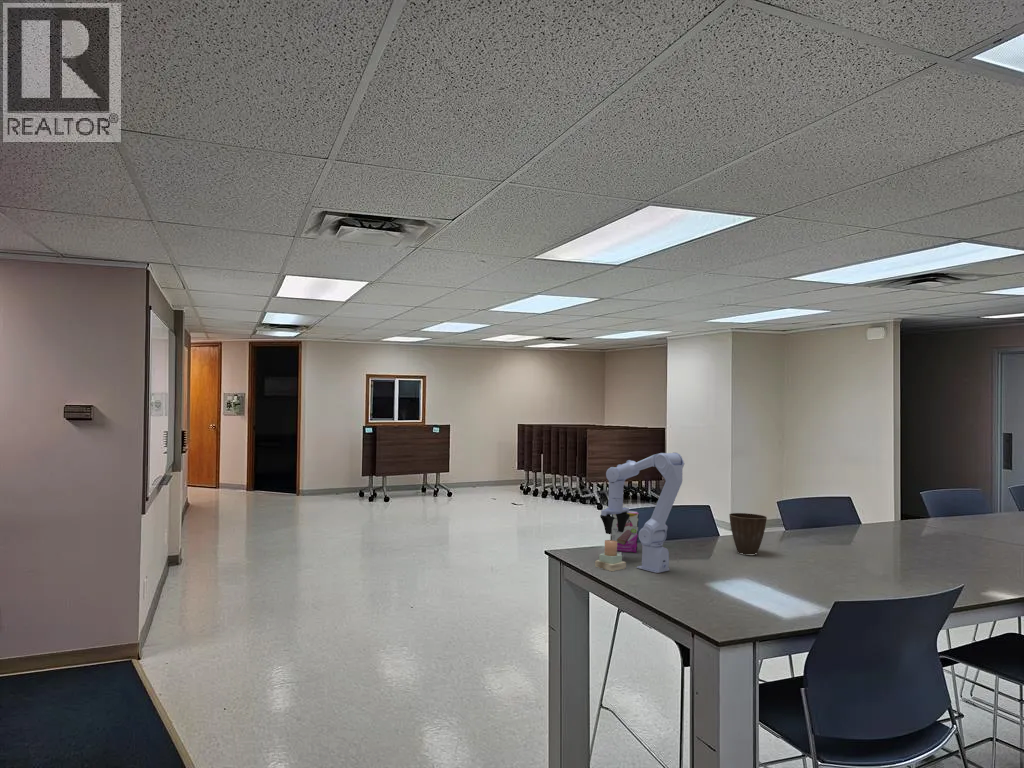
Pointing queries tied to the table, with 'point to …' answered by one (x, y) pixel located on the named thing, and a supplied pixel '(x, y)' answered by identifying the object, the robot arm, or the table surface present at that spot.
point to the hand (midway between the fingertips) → (614, 532)
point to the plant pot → (747, 531)
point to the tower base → (610, 565)
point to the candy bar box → (626, 533)
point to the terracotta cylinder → (610, 548)
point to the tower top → (610, 558)
